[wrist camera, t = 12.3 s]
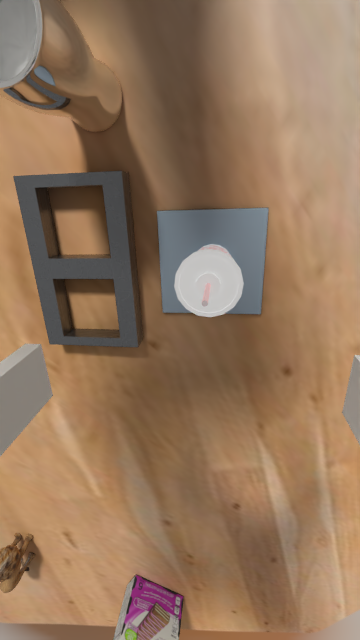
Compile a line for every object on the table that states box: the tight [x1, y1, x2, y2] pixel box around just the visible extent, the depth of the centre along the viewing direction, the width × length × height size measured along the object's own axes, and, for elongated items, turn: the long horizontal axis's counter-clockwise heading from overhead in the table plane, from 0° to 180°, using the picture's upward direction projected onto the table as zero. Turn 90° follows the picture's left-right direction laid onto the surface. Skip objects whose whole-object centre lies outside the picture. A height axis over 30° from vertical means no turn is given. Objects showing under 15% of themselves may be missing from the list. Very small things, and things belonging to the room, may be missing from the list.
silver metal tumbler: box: [0, 0, 122, 132], centre depth 24 cm, size 7×7×15 cm
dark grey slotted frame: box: [13, 171, 143, 347], centre depth 36 cm, size 20×12×2 cm, turn 2°
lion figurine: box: [0, 533, 35, 593], centre depth 58 cm, size 15×5×9 cm, turn 179°
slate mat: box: [157, 208, 268, 314], centre depth 35 cm, size 12×12×1 cm
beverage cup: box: [174, 244, 244, 317], centre depth 28 cm, size 6×6×14 cm
